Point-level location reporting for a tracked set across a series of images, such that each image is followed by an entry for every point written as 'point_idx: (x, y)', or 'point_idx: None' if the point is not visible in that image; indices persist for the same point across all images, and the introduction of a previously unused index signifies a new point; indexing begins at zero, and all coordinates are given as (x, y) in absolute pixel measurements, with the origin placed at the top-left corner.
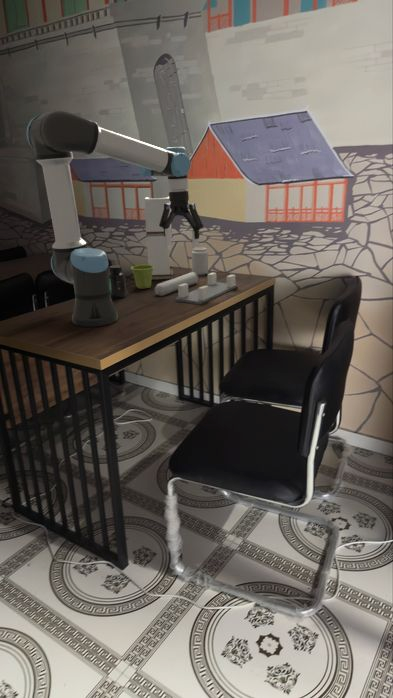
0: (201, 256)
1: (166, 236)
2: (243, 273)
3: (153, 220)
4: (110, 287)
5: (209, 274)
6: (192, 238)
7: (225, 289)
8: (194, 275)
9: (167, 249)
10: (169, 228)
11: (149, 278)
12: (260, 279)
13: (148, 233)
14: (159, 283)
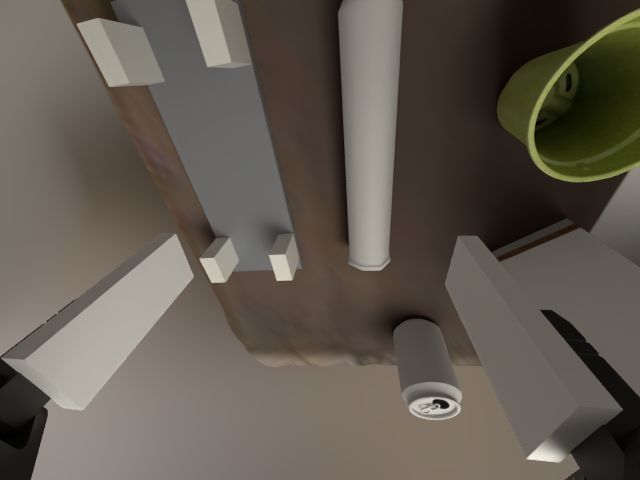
0: (410, 373)
1: (508, 299)
2: (319, 359)
3: None
4: None
5: (277, 255)
6: (111, 284)
7: (210, 215)
8: (354, 256)
9: None
10: (536, 447)
11: (515, 103)
12: (251, 334)
13: None
14: (387, 25)
